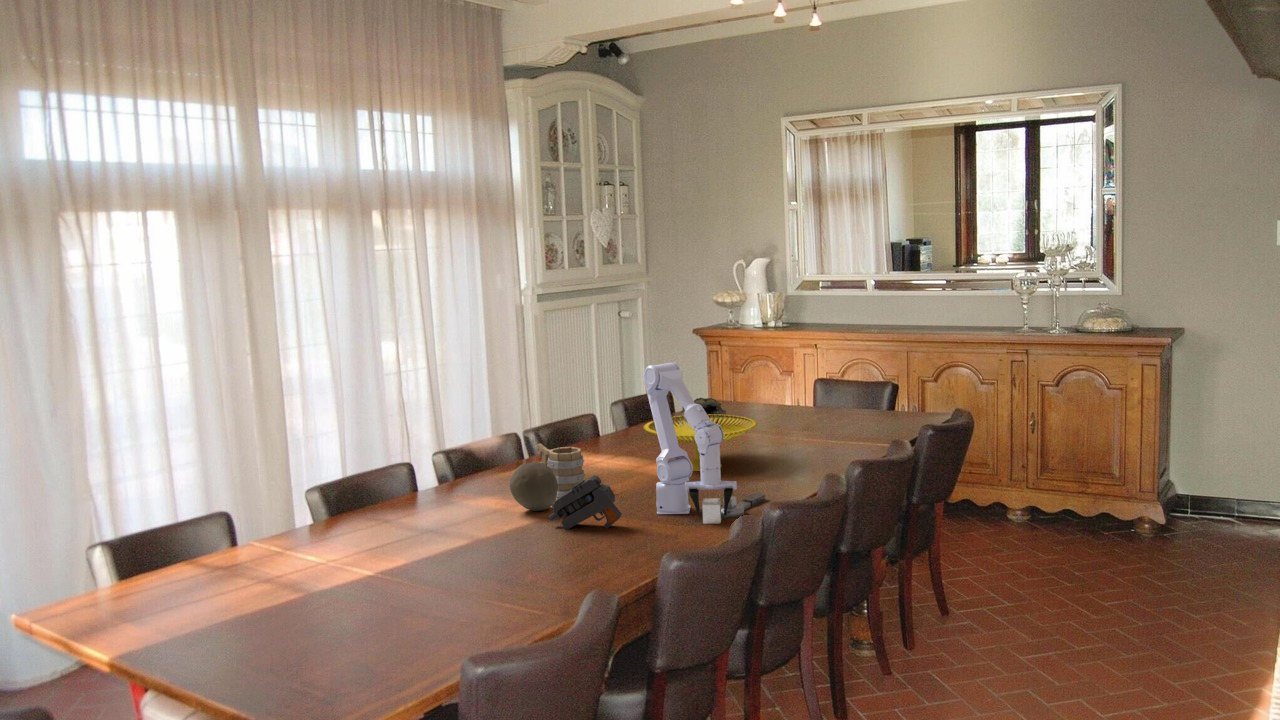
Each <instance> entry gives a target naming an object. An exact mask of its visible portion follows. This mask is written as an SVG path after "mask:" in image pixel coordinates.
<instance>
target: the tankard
mask: <svg viewBox="0 0 1280 720" xmlns="http://www.w3.org/2000/svg"><path fill="white" fill-rule="evenodd" d="M534 449H535V452H541V462H540V463H543V464H545V465H547V466H548V467H549V468H550V469H551V470H552V471H553V473H554V475H555V477H556V480H557V483H558V490H557V496H556V498H557V499H558V498H559V497H560V496H562V495H563V494H565V493H566V492H568V491H570V490H571V489H572V488H573V487H574V486H575V485H576V484H578V483H580V482H581V481H583V480H584V481H585V476H586V474H585V470H584V469H583V466H584V462H585V459H584V455H583V454H582V448H581V447H574V446H565V447H562V446H561V447H557V448H556V447H555V448H553V449H552V448H551V449H549V448H547V447H546V446H544V445H543V444H542V443H541V442H540V443H538V444H536V445H535V446H534Z"/></svg>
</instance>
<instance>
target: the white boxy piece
mask: <svg viewBox="0 0 1280 720" xmlns="http://www.w3.org/2000/svg"><path fill="white" fill-rule="evenodd" d="M721 499H722V498H720V497H714V498H713V497H711V498H705V497H703V498H702V505H701V506H702V524H708V525H709V524H710V525H711V524H716V525H717V524H722V517H721V505H722V502H721Z"/></svg>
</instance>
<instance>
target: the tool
mask: <svg viewBox="0 0 1280 720" xmlns="http://www.w3.org/2000/svg"><path fill="white" fill-rule="evenodd" d="M615 501H616V495H615V493H614V491H613V490H612V488H611V486H610V485H607V484H603V483H602V480H601V478H600V477H599V476H598V475H595V474H593V475H592V476H591V477H588V478H587V479H584V480H583V481H581V482H580V483H578V484H576V485H575V486H574V487H573V488H572V489H571V490H570V491H568V492H566V493H565V494H563V495H562V496H560V497H559V498H558V497H557V498H556V500H555V502H554V503H553V504H552V505H551V508H552V511H553V513H551V514H549V515H548V518H549V520H550V521H552V522H553V521H555V520H557V519H558V520H560V519H562V517H563V516H564V515H565V516H564V517H563V519H562V520H561V522H560V524H561V525H562V527H563V528H564V529H566V530H569V529H571V528H572V527H575V526H577V525H578V524H580V523H581V522H584V521H586V520H587V519H589V518H591V517H593V518H594V519H595V520H596V521H598V522H599V521H602V520H603V519H604V518H605V519H606V522H605V523H604V524H603V526H604V527H605V528H606V529H609V528H610V527H611V526H613V524H615V523H616V522H617V521H619V520H620V519H621V517H622V515H623V514H622V512H621V511H620V510H619V508H618V507H617V506H616V504H614V502H615ZM596 514H600V515H601V516H602V517H600V518H599V517H598V516H597V515H596Z"/></svg>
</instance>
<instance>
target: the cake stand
mask: <svg viewBox="0 0 1280 720" xmlns="http://www.w3.org/2000/svg"><path fill="white" fill-rule="evenodd" d="M709 415H711V417H710V420H711V421H712V420H713V417H714V415H715V414H714V415H712V414H708V417H709ZM719 415H721V414H719ZM719 415H716V416H715V420H714V423H716V421H717V419H718V417H719ZM671 417H672V421H673V425H674V429H675V433H676V437H677V440H678V443H686V444H687V443H689V444H691V445H693V453H694V454H693V455H694V458H693V459H691V460H690V461H691V463H692V466H693V472H700V453H699V451H698V446H697V444H696V441H695V437H694V436H696V433H695V432H694V430H693V429H692V427H691V426H690V424H689V423H688V424H689V427H688V426H687V424H686V422H685V420H684V417H683V416H681V415H677V416H676V415H675V416H671ZM680 418H681V419H682V421H683V423H684V425H685V427H684V426H683V424H682V423H681V421H680ZM722 418H723V419H722ZM686 420H687V419H686ZM721 420H722V421H721ZM687 422H688V421H687ZM720 422H721V423H720ZM679 423H680V425H681V426H682V427H681V426H679ZM717 424H718V425H720V426H721V428H722V430H723V433H724V439H723V441H722V442H724V441H728V440H733V439H736V438H738V437H740V436H742V435H744V434H745V433H747V432H749V431H751V430H753V429H755V428H756V427H758V421H757V420H755V419H753V418H750V417H745V416H740V415H733V414H732V415H731V414H726V415H721V416H720V419H719V421H718V423H717ZM643 430H644V431H645V432H648V433H650V434H652V435H654V436H657V437H658V435H657V431H656V427H655V423H654V420H653V421H651V420H650V421H649V422H647V423H646V424H644V425H643ZM722 466H723V465H722V464H721V463H720V469H721V468H722Z"/></svg>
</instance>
